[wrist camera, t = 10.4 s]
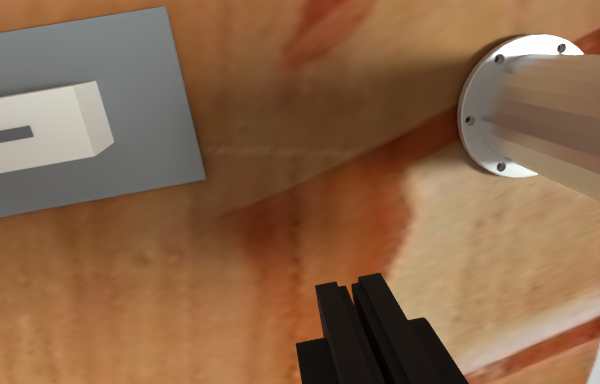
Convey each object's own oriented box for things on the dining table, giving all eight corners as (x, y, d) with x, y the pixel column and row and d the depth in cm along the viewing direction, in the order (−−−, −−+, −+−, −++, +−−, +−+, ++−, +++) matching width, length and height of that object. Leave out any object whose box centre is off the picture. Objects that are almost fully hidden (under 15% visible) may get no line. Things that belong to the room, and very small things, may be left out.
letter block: (71, 86, 31) (-111, 117, 30) (94, 156, 32) (-79, 187, 32) (95, 80, 36) (-61, 107, 35) (114, 142, 37) (-35, 168, 37)
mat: (165, 6, 35) (164, 6, 35) (206, 177, 40) (205, 179, 39) (-73, 45, 34) (-78, 45, 34) (-4, 216, 39) (-8, 218, 38)
